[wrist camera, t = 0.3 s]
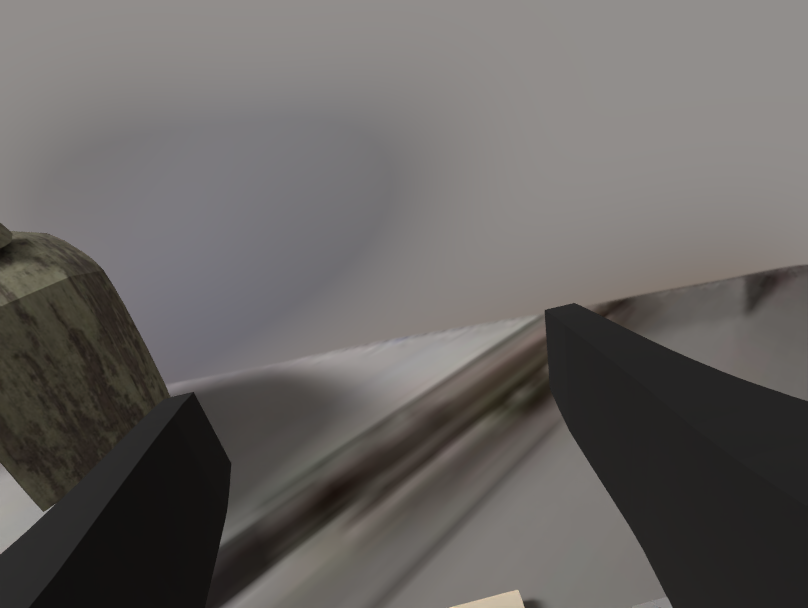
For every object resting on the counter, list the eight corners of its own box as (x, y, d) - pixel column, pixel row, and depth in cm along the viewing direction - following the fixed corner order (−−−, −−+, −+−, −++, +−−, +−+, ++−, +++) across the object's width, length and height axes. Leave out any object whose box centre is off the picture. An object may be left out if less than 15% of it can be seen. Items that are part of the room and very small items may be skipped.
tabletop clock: (16, 460, 40) (-238, 145, 27) (127, 393, 45) (-39, 104, 32) (86, 565, 31) (-239, 176, 18) (212, 467, 37) (34, 113, 23)
